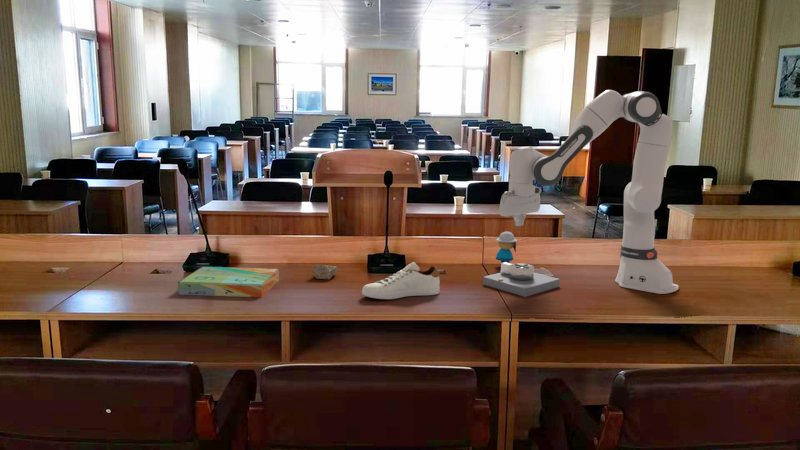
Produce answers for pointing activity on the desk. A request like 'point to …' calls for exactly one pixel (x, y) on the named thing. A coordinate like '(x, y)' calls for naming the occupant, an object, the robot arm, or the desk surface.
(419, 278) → the Shoe
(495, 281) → the panel
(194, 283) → the box
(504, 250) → the toy
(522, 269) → the dial
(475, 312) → the desk surface
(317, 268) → the rock
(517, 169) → the robot arm
